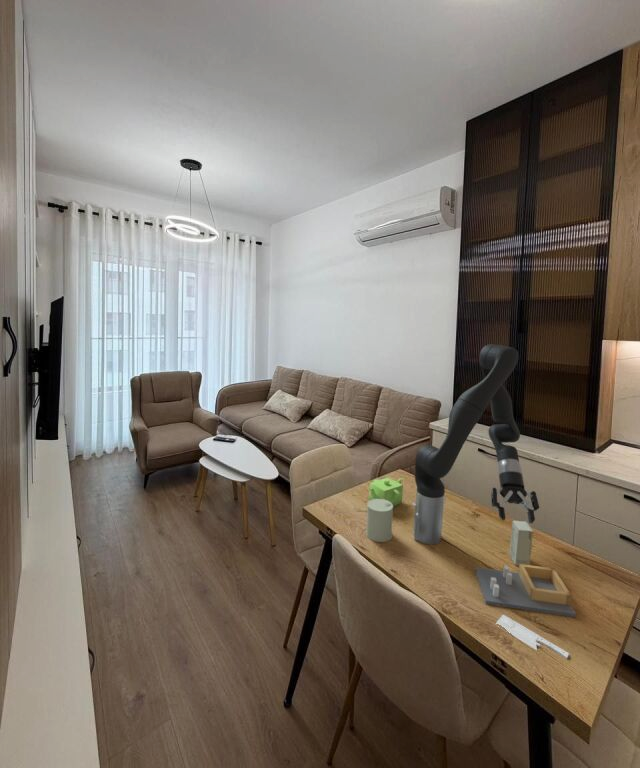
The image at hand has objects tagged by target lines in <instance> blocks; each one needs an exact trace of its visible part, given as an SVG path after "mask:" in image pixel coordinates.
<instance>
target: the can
mask: <svg viewBox="0 0 640 768" xmlns="http://www.w3.org/2000/svg"><path fill="white" fill-rule="evenodd" d="M366 505H367V507H366V530H365V534H366V537H367V538H368V539H370V540H371V541H373V542H377V543H383V542H384V543H385V542H389V541H390V540H391V539H392V537H393V533H392V530H393V510H394V506H393V504H392V503H391V502H389V501H387V500H384V499H372V500H370V501H369V500H368V501H367V503H366Z"/></svg>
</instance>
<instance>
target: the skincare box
mask: <svg viewBox="0 0 640 768" xmlns="http://www.w3.org/2000/svg"><path fill="white" fill-rule="evenodd" d="M511 526H512V527H511V537H510V547H509V557H510V558H511V559H512V562H513V564H514V565H515V566H518V567H519V564H523V565H531V564H530V563H531V555H532V547H533V535H534V531H533V528H532V527H531V525H530V523H529V522H527V521H523V520H522V521H521V520H512V525H511Z"/></svg>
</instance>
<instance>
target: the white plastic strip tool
mask: <svg viewBox="0 0 640 768" xmlns="http://www.w3.org/2000/svg"><path fill="white" fill-rule="evenodd" d="M496 624H499V625H501V626H502V627H504V628H505V629H506V630H507V631H508V632H509V634H510V633H511V634H512V635H511V634H510V635H511V636H513V637H515V638H516V639H518V640H520V641H522V643H524V644H525V645H527V646H528V647H530V648H532V649H534V650H535V651H537V650H538V649H537V647H538V648H541V644H542V645H543V646H545V647H547V648H548V649H551V650H552V651H554V652H555V653H557V654H558V655H560V656H561V657H562V658H564V659H565V660H568V658H569V656H570V653H569V652H567V651H566V650H564V649H563V648H560V647H559V646H557V645H556V644H554V643H552V642H551V641H549V640H547V639H545V638H544V637H542V636H540V635H539V634H537V633H536V632H534V631H532V630H530V629H529V628H527V627H526V626H524V625H522V624H520V623H519V622H517V621H516V620H513V619H512V618H510V617H508V616H506V615H504V614H502V615H500V617H499V619H498V620H497V621H496V623H495V625H496ZM507 631H506V632H507ZM508 632H507V633H508Z"/></svg>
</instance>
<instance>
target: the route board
mask: <svg viewBox="0 0 640 768" xmlns="http://www.w3.org/2000/svg"><path fill="white" fill-rule="evenodd" d="M474 571H475V573H476V577H477V580H478V583H479V587H480V591H481V593H482V596H483V600H484V603H485V604H486V605H492V606H498V607H504V608H505V607H506V608H511V609H519V610H524V611H531V612H537V613H538V612H539V613H543V614H544V613H545V614H551V615H558V616H565V617H572V618H576V617H577V613H576V612H575V610H574V608H573V606H572V605H571V599H572V594H571V592H570V591H569V590H568V588H567V587H566V585H565V584H564V582H563V580H562V579H561V577H560V576H559V574H558V573H557V571H556V570H555V568H554V567H545V566H537V565H532V564H530V565H523V564H519V566H518V572H515V571H510V567H509V566H508V565H506V566H505V565H504V566H503V569H502V570H501V569H500V570H499V569H490V568H483V567H477V566H475V567H474Z"/></svg>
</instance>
